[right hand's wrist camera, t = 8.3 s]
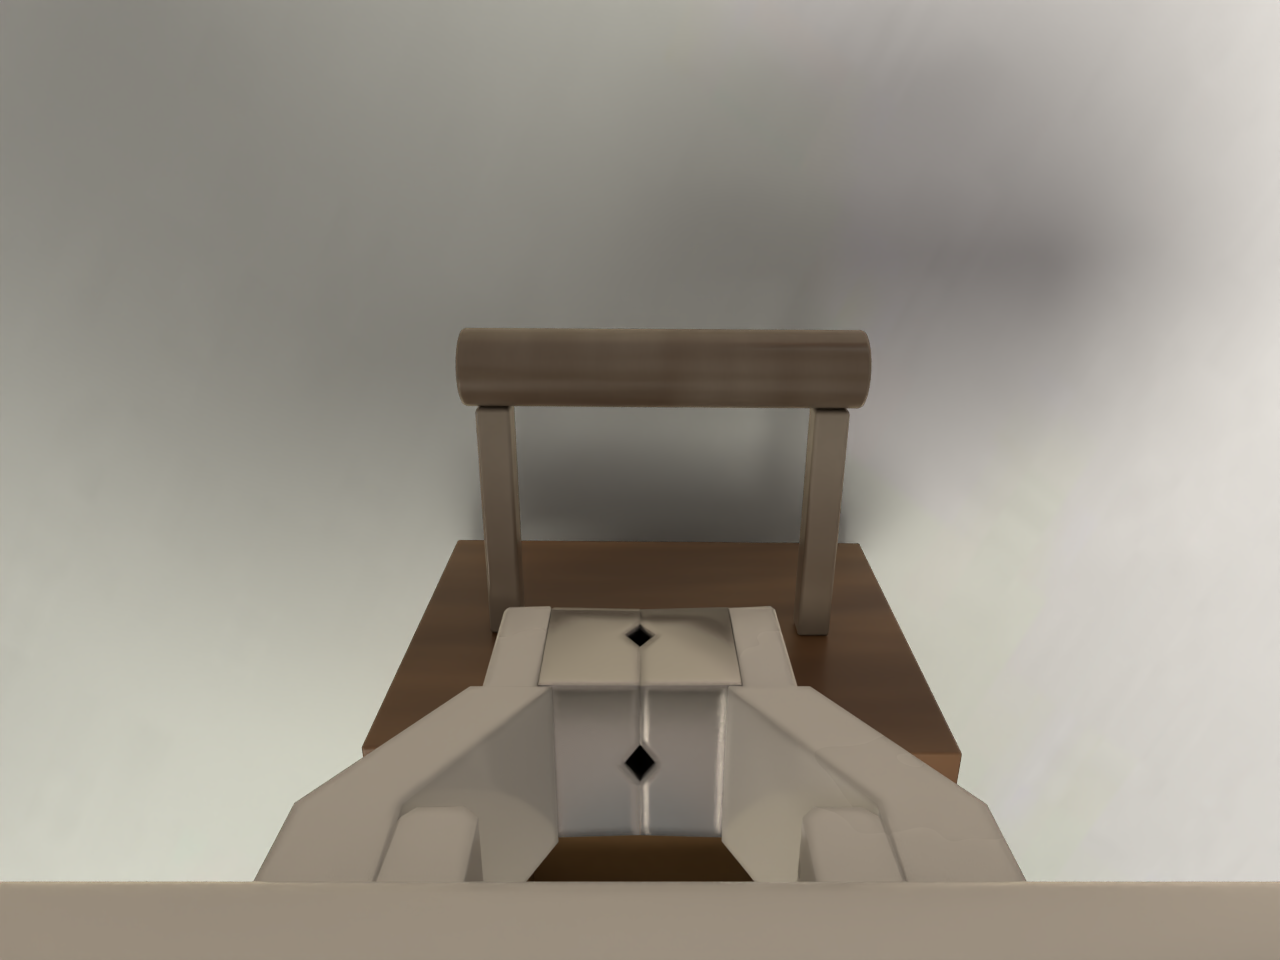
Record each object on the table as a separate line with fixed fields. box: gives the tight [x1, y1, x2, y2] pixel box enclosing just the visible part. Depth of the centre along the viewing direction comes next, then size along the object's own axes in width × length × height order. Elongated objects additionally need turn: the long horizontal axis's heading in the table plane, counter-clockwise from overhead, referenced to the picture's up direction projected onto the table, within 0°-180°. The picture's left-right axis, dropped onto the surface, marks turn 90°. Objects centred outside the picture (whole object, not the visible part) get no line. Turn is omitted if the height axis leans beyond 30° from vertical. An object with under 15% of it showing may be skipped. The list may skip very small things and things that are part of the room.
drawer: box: [362, 328, 962, 882], centre depth 20 cm, size 26×9×7 cm, turn 0°
